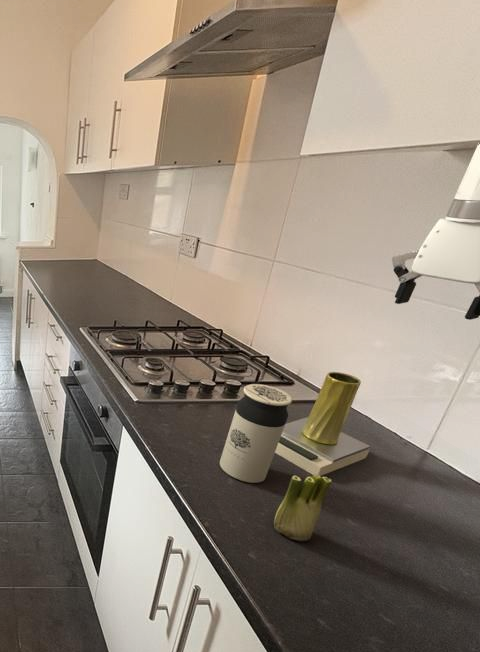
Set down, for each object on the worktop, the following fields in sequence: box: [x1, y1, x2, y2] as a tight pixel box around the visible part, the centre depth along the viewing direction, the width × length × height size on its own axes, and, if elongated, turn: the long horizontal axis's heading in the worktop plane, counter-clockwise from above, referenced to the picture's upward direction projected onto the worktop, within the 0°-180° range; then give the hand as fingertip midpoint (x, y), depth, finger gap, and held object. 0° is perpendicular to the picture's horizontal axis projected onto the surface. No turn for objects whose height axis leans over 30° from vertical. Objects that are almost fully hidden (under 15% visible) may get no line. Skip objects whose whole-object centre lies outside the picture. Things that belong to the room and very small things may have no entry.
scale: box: [274, 435, 371, 477], centre depth 89 cm, size 16×12×3 cm
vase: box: [302, 371, 362, 444], centre depth 86 cm, size 6×6×14 cm
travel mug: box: [219, 383, 293, 484], centre depth 80 cm, size 8×8×18 cm
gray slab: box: [281, 416, 371, 463], centre depth 89 cm, size 12×12×1 cm
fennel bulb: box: [273, 474, 333, 542], centre depth 67 cm, size 6×5×12 cm
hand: (434, 310), depth 76 cm, fingers open, 9 cm apart
